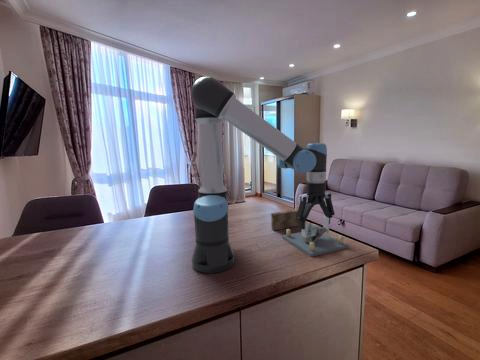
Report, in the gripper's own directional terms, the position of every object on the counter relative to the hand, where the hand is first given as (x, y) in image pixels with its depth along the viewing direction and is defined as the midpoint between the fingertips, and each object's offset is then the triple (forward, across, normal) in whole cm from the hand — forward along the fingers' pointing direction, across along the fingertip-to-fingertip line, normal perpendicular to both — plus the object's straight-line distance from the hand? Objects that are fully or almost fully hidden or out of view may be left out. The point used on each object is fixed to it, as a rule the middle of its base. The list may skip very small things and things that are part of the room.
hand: (315, 234), depth 104 cm
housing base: (+4, -1, 0) cm, 4 cm away
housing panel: (+4, -1, +20) cm, 21 cm away
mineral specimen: (+2, -1, -1) cm, 3 cm away
